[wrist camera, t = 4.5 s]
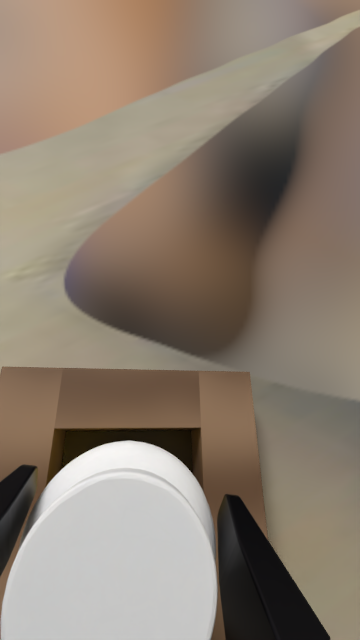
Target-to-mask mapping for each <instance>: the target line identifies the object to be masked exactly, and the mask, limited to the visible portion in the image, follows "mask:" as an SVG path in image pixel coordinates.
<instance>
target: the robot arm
mask: <svg viewBox="0 0 360 640" xmlns="http://www.w3.org/2000/svg"><path fill="white" fill-rule="evenodd" d="M37 476H38V468H37V466H34V465H27V464H23V465H20V466H19V467H18V468H17V469H15V470H14V471H13V472H12V473H10V474H9V475H8V476H6V477H5V478H4V479H3V480H1V481H0V577H1V575H2V573H3V571H4V569H5V567H6V565H7V562H8V560H9V558H10V556H11V553H12V551H13V549H14V546H15V544H16V541H17V539H18V536H19V534H20V531H21V529H22V526H23V524H24V521H25V519H26V516H27V514H28V511H29V509H30V506H31V504H32V501H33V499H34V496H35V493H36V490H37ZM217 534H218V568H219V587H220V597H221V605H222V613H223V622H224V630H225V638H226V640H330V636H329V635H328V633H327V632H326V630H325V629H324V627H323V625H322V624H321V622H320V621H319V619H318V618H317V616H316V615H315V613H314V611H313V610H312V608H311V607H310V605H309V604H308V602H307V600H306V599H305V597H304V596H303V594H302V593H301V591H300V590H299V588H298V586H297V585H296V583H295V582H294V580H293V579H292V577H291V576H290V574H289V572H288V571H287V569H286V568H285V566H284V565H283V563H282V561H281V560H280V558H279V557H278V555H277V554H276V552H275V551H274V549H273V547H272V546H271V544H270V543H269V541H268V540H267V538H266V537H265V535H264V533H263V532H262V530H261V529H260V527H259V526H258V524H257V522H256V521H255V519H254V518H253V516H252V515H251V513H250V512H249V510H248V508H247V507H246V505H245V504H244V502H243V501H242V499H241V498H240V497H239V496H238V495H234V494H225V495H224V497H223V500H222V503H221V505H220V508H219V511H218V515H217Z"/></svg>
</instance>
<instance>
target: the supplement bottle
mask: <svg viewBox="0 0 360 640" xmlns="http://www.w3.org/2000/svg"><path fill="white" fill-rule="evenodd" d="M215 563H216V537H215V529H214V523H213V519H212V515H211V511H210V508H209V505H208V502H207V500H206V497H205V494H204V492H203V490H202V488H201V486H200V484H199V483H198V481H197V479H196V478H195V477H194V475H193V474H192V473H191V471H190V470H189V469H188V468H187V467H186V466H185V465H184V464H183V463H182V462H181V461H180V460H179V459H178V458H177V457H175V456H174V455H172V454H171V453H169V452H168V451H166V450H164V449H162V448H160V447H158V446H155V445H152V444H150V443H145V442H139V441H130V440H127V441H118V442H112V443H108V444H104V445H101V446H98V447H96V448H93V449H91V450H89V451H87V452H85V453H83V454H82V455H80V456H78V457H77V458H75V459H74V460H72V461H71V462H70V463H68V464H67V465H66V466H65V467H64V468H63V469H62V470H61V471H60V472H59V473H58V474H57V475H56V476H55V477H54V478H53V479H52V480H51V481H50V482H49V484H48V485H47V486H46V488H45V489H44V490H43V492H42V493H41V495H40V496H39V498H38V500H37V501H36V503H35V505H34V507H33V509H32V511H31V513H30V515H29V517H28V519H27V522H26V525H25V528H24V531H23V534H22V537H21V541H20V545H19V550H18V553H17V555H16V558H15V560H14V563H13V565H12V567H11V571H10V574H9V577H8V580H7V584H6V589H5V593H4V598H3V602H2V611H1V621H0V624H1V640H211V637H212V633H213V629H214V624H215V618H216V611H217V598H218V585H217V572H216V564H215Z"/></svg>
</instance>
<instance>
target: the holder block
mask: <svg viewBox="0 0 360 640" xmlns="http://www.w3.org/2000/svg"><path fill="white" fill-rule="evenodd" d="M142 430H191V433H192V470H193V475H194V477H195V478H196V479H197V481H198V483H199V484H200V486H201V488H202V490H203V492H204V494H205V497H206V500H207V502H208V505H209V508H210V511H211V515H212V519H213V523H214V529H215V537H216V563H215V564H216V572H217V585H218V598H217V611H216V618H215V624H214V629H213V633H212V637H211V640H226V638H225V630H224V622H223V613H222V605H221V597H220V587H219V568H218V534H217V515H218V511H219V508H220V505H221V503H222V500H223V497H224V495H225V494H234V495H238V496H239V497H240V498H241V499H242V501H243V502H244V504H245V505H246V507H247V508H248V510H249V512H250V513H251V515H252V516H253V518H254V519H255V521H256V522H257V524H258V526H259V527H260V529H261V530H262V532H263V533H264V535H265V537H266V538H267V540H268V536H267V527H266V517H265V508H264V499H263V490H262V481H261V472H260V463H259V453H258V444H257V435H256V426H255V417H254V408H253V398H252V389H251V380H250V372H226V371H179V370H132V369H86V368H39V367H2V369H1V374H0V481H1V480H3V479H4V478H5V477H6V476H8V475H9V474H10V473H12V472H13V471H14V470H15V469H17V468H18V467H19V466H20V465H23V464H27V465H34V466H37V468H38V476H37V490H36V493H35V496H34V499H33V501H32V504H31V506H30V509H29V511H28V514H27V516H26V519H25V521H24V524H23V526H22V529H21V531H20V534H19V536H18V539H17V541H16V544H15V546H14V549H13V551H12V553H11V556H10V558H9V560H8V562H7V565H6V567H5V569H4V571H3V573H2V575H1V577H0V621H1V611H2V602H3V598H4V593H5V589H6V584H7V580H8V577H9V574H10V571H11V567H12V565H13V563H14V560H15V558H16V555H17V553H18V550H19V545H20V541H21V537H22V534H23V531H24V528H25V525H26V522H27V519H28V517H29V515H30V513H31V511H32V509H33V507H34V505H35V503H36V501H37V500H38V498H39V496H40V495H41V493H42V492H43V490H44V489H45V488H46V486H47V485H48V484H49V482H50V481H51V480H52V479H53V478H54V477H55V476H56V475H57V474H58V473H59V472H60V471H61V465H62V458H63V450H64V442H65V435H66V431H142ZM0 640H1V624H0Z"/></svg>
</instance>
